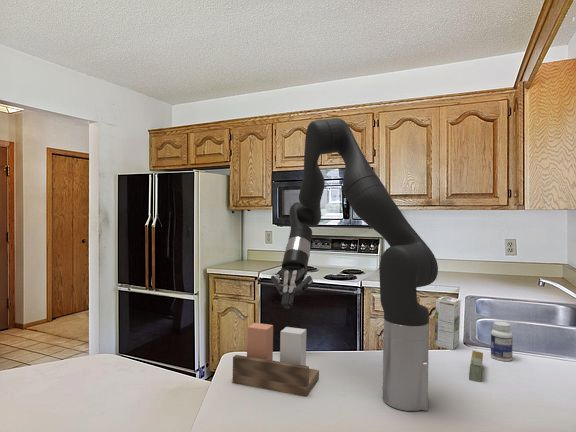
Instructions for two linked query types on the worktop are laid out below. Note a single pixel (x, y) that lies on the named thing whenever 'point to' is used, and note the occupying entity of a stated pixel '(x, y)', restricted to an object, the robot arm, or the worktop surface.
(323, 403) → the worktop surface
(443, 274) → the worktop surface
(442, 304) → the syrup box
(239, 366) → the console
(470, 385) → the worktop surface
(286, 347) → the grey rectangular block
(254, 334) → the orange tall block
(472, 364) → the medication box
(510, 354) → the pill bottle
